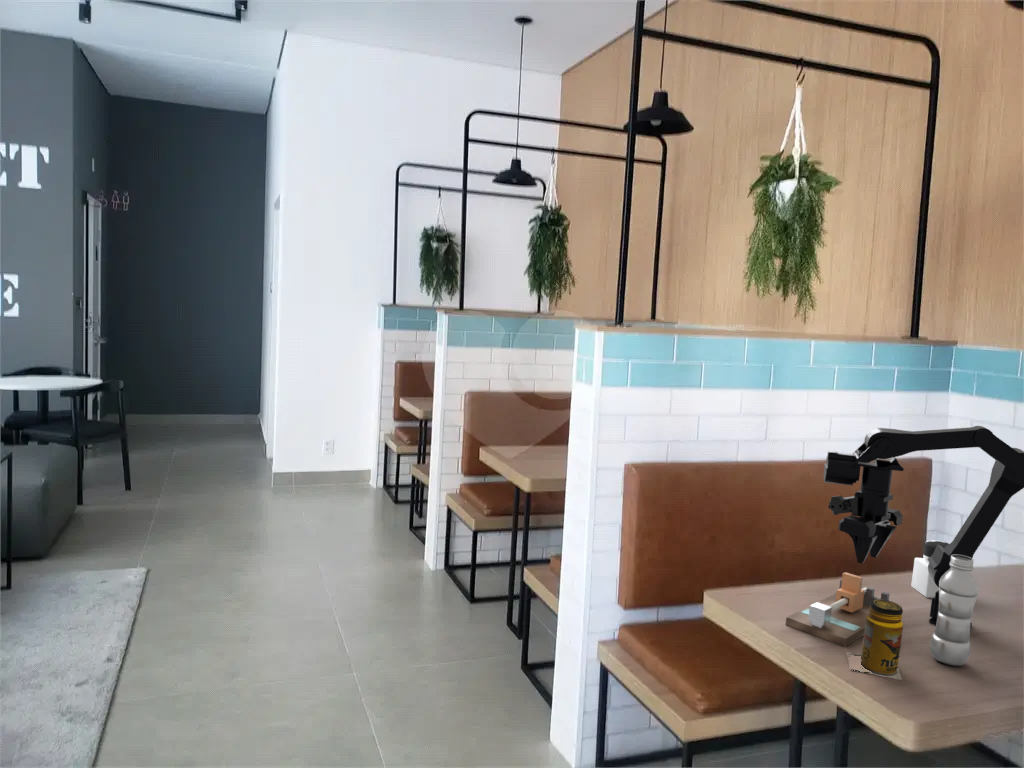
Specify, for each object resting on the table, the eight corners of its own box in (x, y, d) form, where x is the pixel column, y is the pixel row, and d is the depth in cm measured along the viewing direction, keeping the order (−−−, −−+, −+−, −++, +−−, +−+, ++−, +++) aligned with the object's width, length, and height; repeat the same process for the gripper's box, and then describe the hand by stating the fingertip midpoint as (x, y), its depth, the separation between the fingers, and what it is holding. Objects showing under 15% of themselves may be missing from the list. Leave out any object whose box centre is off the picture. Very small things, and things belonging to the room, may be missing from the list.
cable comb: (887, 609, 167) (889, 593, 166) (885, 610, 166) (887, 594, 165) (840, 594, 174) (842, 579, 173) (838, 595, 173) (840, 580, 172)
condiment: (902, 680, 138) (910, 614, 137) (849, 670, 141) (857, 606, 139) (895, 662, 145) (903, 600, 144) (845, 653, 147) (853, 591, 146)
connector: (829, 626, 156) (831, 607, 155) (822, 630, 154) (824, 610, 153) (814, 621, 158) (817, 602, 157) (807, 625, 156) (810, 605, 155)
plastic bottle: (958, 655, 150) (972, 553, 147) (975, 672, 143) (990, 565, 141) (922, 651, 150) (935, 550, 148) (937, 668, 144) (952, 562, 141)
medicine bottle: (957, 600, 179) (964, 548, 178) (925, 597, 179) (932, 546, 178) (940, 588, 186) (947, 539, 185) (910, 586, 186) (916, 536, 185)
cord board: (892, 617, 166) (893, 610, 166) (844, 646, 150) (845, 638, 150) (836, 599, 175) (837, 592, 175) (785, 624, 159) (786, 616, 159)
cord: (868, 593, 170) (869, 588, 170) (826, 615, 156) (826, 609, 156) (862, 592, 171) (863, 586, 170) (820, 613, 157) (820, 607, 157)
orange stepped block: (862, 606, 165) (866, 575, 164) (852, 612, 162) (856, 580, 161) (845, 601, 168) (849, 570, 167) (835, 606, 164) (838, 575, 164)
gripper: (855, 475, 179) (848, 542, 181) (818, 485, 166) (810, 557, 168) (907, 486, 171) (898, 556, 173) (871, 497, 158) (863, 573, 160)
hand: (866, 560), depth 168 cm, fingers open, 6 cm apart
